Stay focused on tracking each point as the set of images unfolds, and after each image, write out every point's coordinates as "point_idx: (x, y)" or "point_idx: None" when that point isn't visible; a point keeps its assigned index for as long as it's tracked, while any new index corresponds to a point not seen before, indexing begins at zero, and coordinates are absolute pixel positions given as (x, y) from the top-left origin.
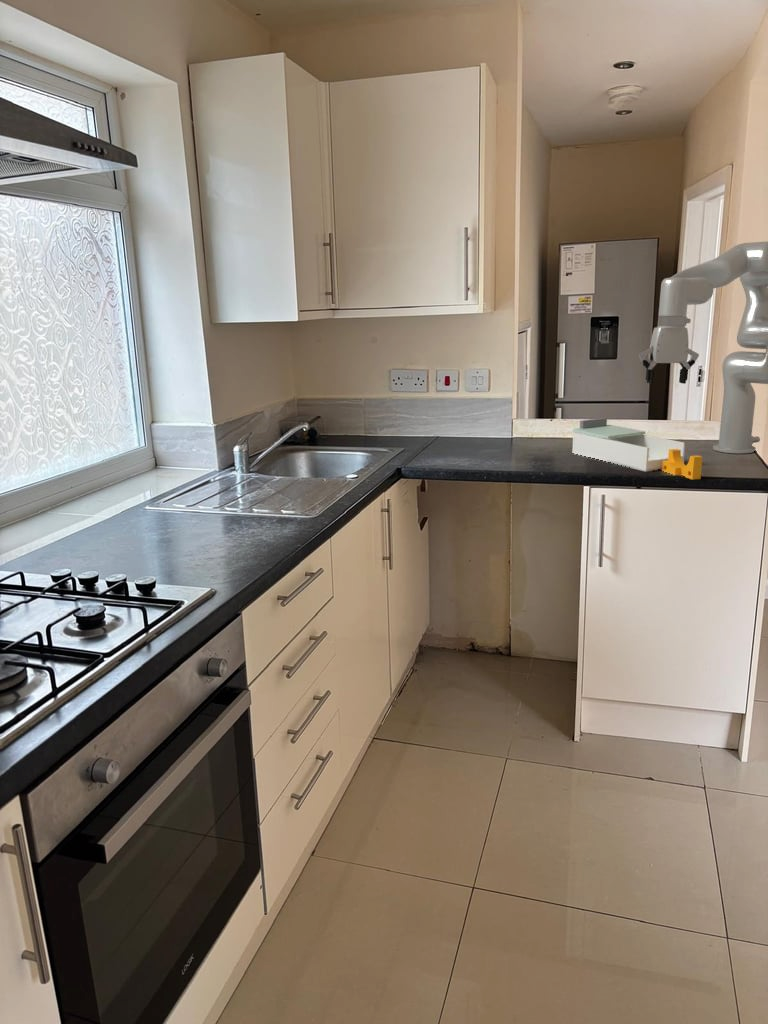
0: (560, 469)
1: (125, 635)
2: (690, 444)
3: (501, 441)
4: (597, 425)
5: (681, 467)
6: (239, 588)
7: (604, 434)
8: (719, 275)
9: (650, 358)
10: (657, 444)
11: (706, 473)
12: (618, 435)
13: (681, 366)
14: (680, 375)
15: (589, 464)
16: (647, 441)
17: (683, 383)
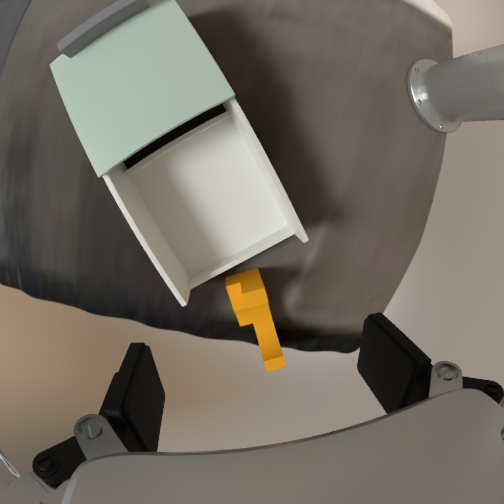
0: (39, 248)
1: (10, 470)
2: (378, 18)
3: (19, 4)
4: (115, 23)
5: (254, 321)
6: (6, 459)
7: (94, 146)
8: None
9: (89, 474)
10: (255, 153)
11: (308, 299)
12: (131, 153)
13: (430, 382)
14: (385, 353)
15: (86, 200)
16: (236, 118)
17: (360, 362)
